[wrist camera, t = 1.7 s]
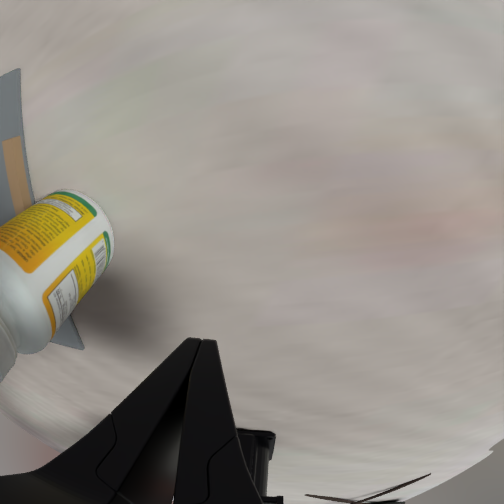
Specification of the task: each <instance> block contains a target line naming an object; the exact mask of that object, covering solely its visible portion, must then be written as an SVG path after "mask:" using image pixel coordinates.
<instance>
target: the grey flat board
mask: <svg viewBox="0 0 504 504" xmlns="http://www.w3.org/2000/svg"><path fill="white" fill-rule="evenodd" d="M34 204H35V201H34V196H33V192H32V187H31V181H30V176H29V170H28V164H27V157H26V150H25V142H24V134H23V123H22V111H21V90H20V68H18V69H15V70H13V71H11V72H9V73H7V74H4V75H2V76H1V77H0V227H1V226H2V225H4V224H5V223H7V222H8V221H9V220H11V219H12V218H14V217H15V216H17V215H18V214H20V213H21V212H23V211H25V210H26V209H28V208H29V207H31V206H32V205H34ZM50 342H52V343H56V344H60V345H63V346H67V347H71V348H75V349H79V350H83V349H84V346H83V343H82V341H81V339H80V337H79V335H78V332H77V330H76V328H75V326H74V323H73V321H72V318H71V316H70V315H69V316H68V317H67V319H66V320H65V321H64V323H63V324H62V325H61V327H60V328H59V329H58V331H57V332H56V333H55V335H54V337H53V338H52V339H51V340H50Z"/></svg>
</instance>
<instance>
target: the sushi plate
mask: <svg viewBox="0 0 504 504" xmlns="http://www.w3.org/2000/svg"><path fill="white" fill-rule="evenodd" d="M429 475H431V473H430V474H428V475H425V476H423V477H420V478H417V479H415V480H412V481H409V482H407V483H404V484H402V485H400V486H397V487H395V488H392V489H390V490H387V491H385V492H382V493H380V494H377V495H375V496H372V497H369V498H366V499H363V500H360V501H357V502H354V501H349V500H343V499H338V498H333V497H325V496H317V495H309V494H306V495H305V496H309V497H314V498H319V499H325V500H331V501H337V502H344V503H351V504H368V503H361V502H364V501H367V500H370V499H373V498H376V497H379V496H382V495H384V494H387V493H390V492H392V491H395V490H397V489H400V488H402V487H405V486H407V485H409V484H412V483H414V482H416V481H419V480H421V479H423V478H425V477H427V476H429ZM377 504H405V502H393V503H377Z"/></svg>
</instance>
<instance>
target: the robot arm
mask: <svg viewBox="0 0 504 504" xmlns="http://www.w3.org/2000/svg"><path fill="white" fill-rule="evenodd" d="M275 439H276V434H275V433H269V432H252V431H239V430H236V426H235V422H234V418H233V414H232V409H231V405H230V401H229V396H228V392H227V388H226V383H225V379H224V374H223V369H222V365H221V360H220V355H219V350H218V345H217V341H216V340H211V339H203V340H201V339H200V338H191V337H189V338H187V339H185V340H184V341H183V342H182V343H181V344H180V345H179V346H178V347H177V348H176V349H175V350H174V351H173V352H172V353H171V354H170V355H169V356H168V357H167V358H166V359H165V360H164V361H163V362H162V363H161V364H160V365H159V366H158V367H157V368H156V369H155V370H154V371H153V372H152V373H151V374H150V375H149V376H148V377H147V378H146V379H145V380H144V381H143V382H142V383H141V384H140V385H139V386H138V387H137V388H136V389H135V390H134V391H133V392H131V393H130V394H129V395H128V396H127V397H126V398H125V399H124V400H123V401H122V402H121V403H120V404H119V405H118V406H117V407H116V408H115V409H114V410H113V411H112V412H111V414H109V415H108V416H106V417H105V418H104V419H103V420H102V421H101V422H100V423H99V424H98V425H97V426H96V427H95V428H94V429H92V430H91V431H90V432H89V433H88V434H87V435H85V436H84V437H83V438H81V439H80V440H79V441H78V442H76V443H75V444H74V445H72V446H71V447H70V448H68V449H67V450H65V451H64V452H63V453H61V454H60V455H59V456H57V457H56V458H54V459H53V460H52V461H50V462H49V463H47V464H46V465H44V466H43V467H41V468H39V469H36V470H34V471H31V472H27V473H21V474H13V475H5V476H0V504H172V500H173V496H174V501H173V504H283V496H277V497H268V496H266V494H267V479H268V463H269V460H271V459H272V454H273V449H274V444H275Z"/></svg>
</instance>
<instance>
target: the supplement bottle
mask: <svg viewBox="0 0 504 504" xmlns="http://www.w3.org/2000/svg"><path fill="white" fill-rule="evenodd" d="M113 252H114V236H113V231H112V228H111V225H110V222H109V220H108V218H107V216H106V215H105V213H104V212H103V210H102V209H101V208H100V206H99V205H98V204H97V203H96V202H94V201H93V200H92V199H91V198H89V197H88V196H86V195H84V194H83V193H81V192H78V191H75V190H70V189H65V190H59V191H56V192H54V193H52V194H50V195H48V196H47V197H45V198H43V199H42V200H40V201H39V202H37V203H35V204H34V205H32V206H31V207H29V208H28V209H26V210H25V211H23V212H21V213H20V214H18V215H17V216H15V217H14V218H12V219H11V220H9V221H8V222H7V223H5V224H4V225H2V226H1V227H0V382H1V381H2V380H3V379H4V377H5V376H6V374H7V373H8V372H9V370H10V369H11V368H12V367H13V366H14V364H15V361H16V358H17V353H21V354H34V353H37V352H39V351H41V350H42V349H44V348H45V347H46V346H47V344H48V343H49V342H50V340H51V339H52V338H53V337H54V335H55V333H56V332H57V331H58V329H59V328H60V327H61V325H62V324H63V323H64V321H65V320H66V319H67V317H68V316H69V315H70V313H71V312H72V311H73V309H74V308H75V307H76V305H77V304H78V303H79V302H80V300H81V299H82V298H83V296H84V295H85V294H86V293H87V291H88V290H89V289H90V288H91V287H92V285H93V284H94V283H95V282H96V280H97V279H98V278H99V277H100V276H101V274H102V273H103V272H104V270H105V269H106V268H107V266H108V265H109V263H110V261H111V259H112V256H113Z"/></svg>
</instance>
